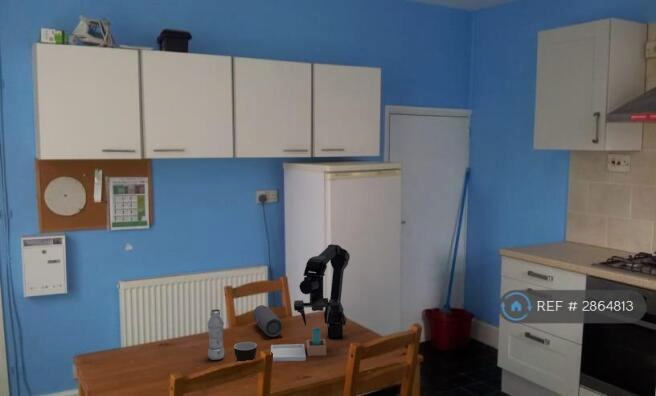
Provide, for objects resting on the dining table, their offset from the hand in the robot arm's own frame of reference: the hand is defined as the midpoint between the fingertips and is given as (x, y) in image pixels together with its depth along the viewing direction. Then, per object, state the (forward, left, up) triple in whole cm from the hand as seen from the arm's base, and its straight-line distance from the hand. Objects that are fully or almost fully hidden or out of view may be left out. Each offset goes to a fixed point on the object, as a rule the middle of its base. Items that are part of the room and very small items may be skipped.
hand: (316, 325), depth 227 cm
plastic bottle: (+41, +4, -12) cm, 43 cm away
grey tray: (+12, +2, -12) cm, 17 cm away
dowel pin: (0, 0, -12) cm, 12 cm away
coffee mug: (+28, +16, -12) cm, 34 cm away
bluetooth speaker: (+21, -28, -12) cm, 37 cm away
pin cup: (0, 0, -12) cm, 12 cm away
